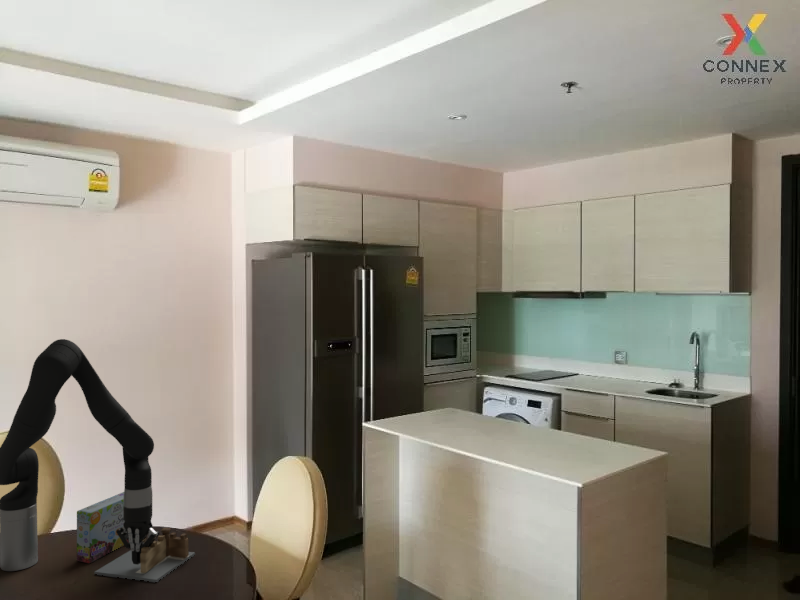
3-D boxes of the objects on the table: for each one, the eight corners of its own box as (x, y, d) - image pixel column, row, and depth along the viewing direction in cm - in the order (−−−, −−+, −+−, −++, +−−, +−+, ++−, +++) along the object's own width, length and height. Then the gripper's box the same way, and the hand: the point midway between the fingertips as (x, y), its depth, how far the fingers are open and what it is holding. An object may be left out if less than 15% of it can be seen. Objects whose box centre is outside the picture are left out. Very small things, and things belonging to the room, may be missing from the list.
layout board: (94, 574, 174) (94, 571, 174) (137, 548, 191) (137, 545, 191) (156, 582, 168) (156, 579, 168) (195, 555, 186) (195, 552, 186)
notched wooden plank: (159, 559, 183) (159, 530, 183) (165, 556, 185) (164, 527, 185) (184, 562, 181) (184, 533, 180) (189, 558, 183) (189, 529, 183)
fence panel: (145, 572, 172) (145, 549, 172) (140, 572, 172) (140, 549, 172) (166, 556, 182) (165, 534, 182) (161, 556, 182) (161, 534, 182)
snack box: (91, 564, 180) (90, 512, 180) (76, 562, 182) (75, 510, 182) (143, 536, 200) (142, 490, 200) (128, 534, 202) (128, 488, 202)
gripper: (108, 504, 173) (108, 565, 174) (149, 509, 170) (149, 572, 171) (126, 495, 181) (126, 554, 181) (166, 500, 177) (166, 560, 178)
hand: (137, 563), depth 176 cm, fingers closed
